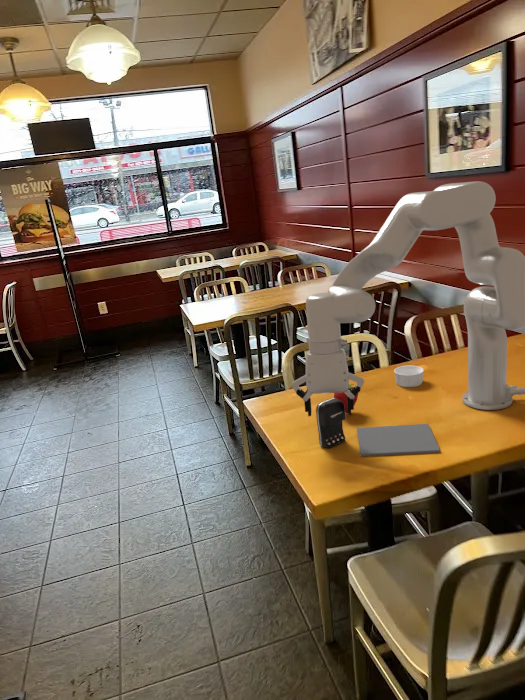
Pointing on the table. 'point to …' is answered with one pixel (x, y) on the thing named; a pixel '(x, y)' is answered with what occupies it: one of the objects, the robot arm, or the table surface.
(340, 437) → the battery charger
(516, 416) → the table surface
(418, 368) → the ramekin
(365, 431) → the mat
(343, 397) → the strawberry
